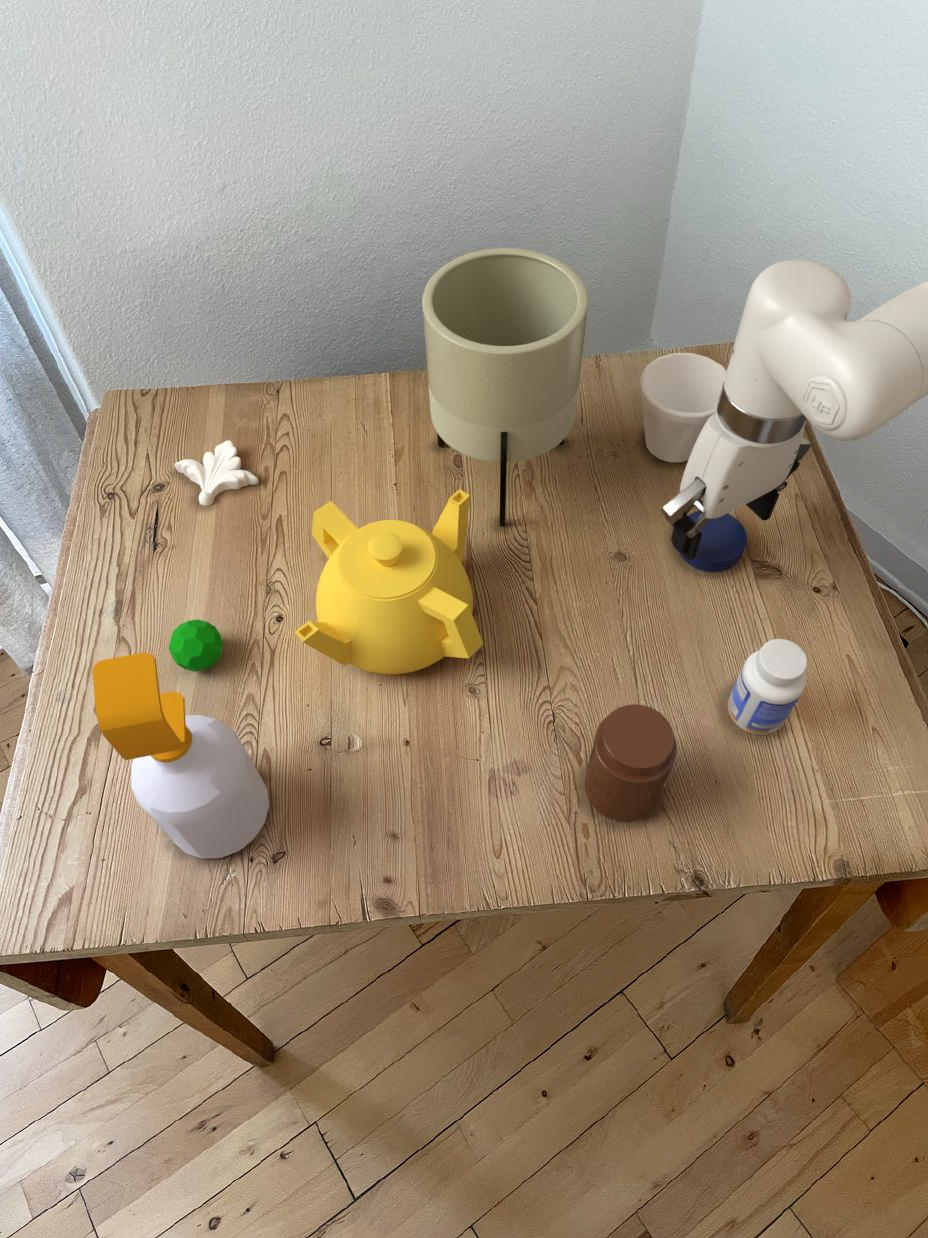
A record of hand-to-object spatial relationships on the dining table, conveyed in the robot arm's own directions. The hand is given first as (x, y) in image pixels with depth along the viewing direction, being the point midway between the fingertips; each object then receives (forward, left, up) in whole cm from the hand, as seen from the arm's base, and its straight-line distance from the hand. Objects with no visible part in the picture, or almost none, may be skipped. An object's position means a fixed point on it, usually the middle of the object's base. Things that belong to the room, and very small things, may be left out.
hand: (720, 530), depth 90 cm
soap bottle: (+40, +40, -3) cm, 56 cm away
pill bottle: (-6, +18, -3) cm, 19 cm away
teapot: (+30, +16, -3) cm, 34 cm away
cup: (+6, -14, -3) cm, 16 cm away
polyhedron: (+48, +25, -3) cm, 54 cm away
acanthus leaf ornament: (+56, +3, -3) cm, 56 cm away
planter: (+24, -6, -3) cm, 25 cm away
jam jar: (+5, +29, -3) cm, 29 cm away
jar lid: (0, 0, -2) cm, 2 cm away
